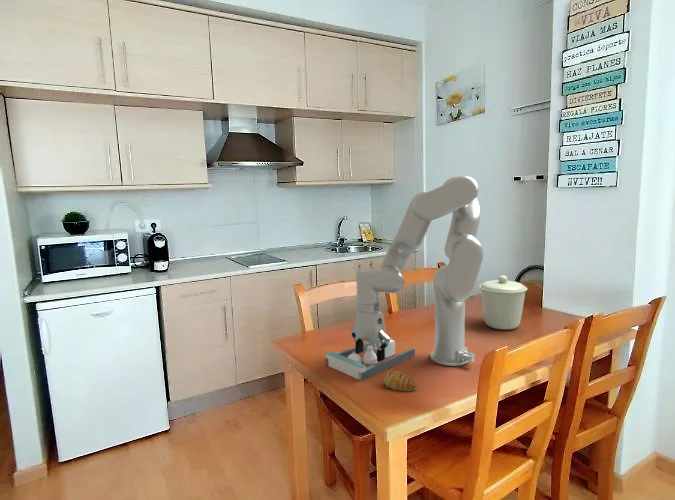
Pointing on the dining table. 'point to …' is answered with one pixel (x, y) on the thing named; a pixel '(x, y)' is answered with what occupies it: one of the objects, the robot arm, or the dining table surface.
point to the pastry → (400, 381)
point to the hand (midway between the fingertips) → (370, 356)
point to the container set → (370, 355)
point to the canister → (502, 303)
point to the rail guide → (360, 370)
